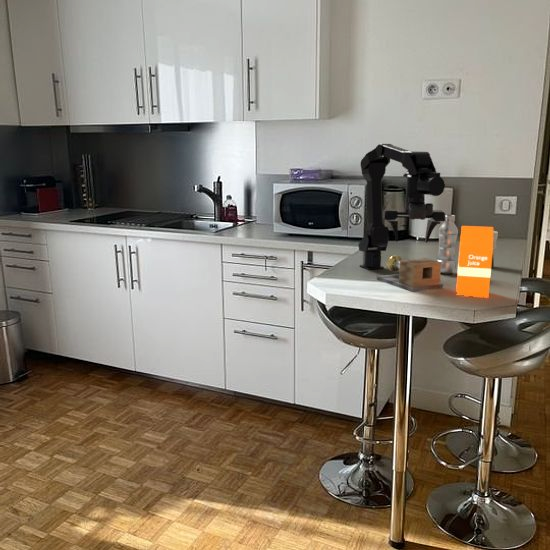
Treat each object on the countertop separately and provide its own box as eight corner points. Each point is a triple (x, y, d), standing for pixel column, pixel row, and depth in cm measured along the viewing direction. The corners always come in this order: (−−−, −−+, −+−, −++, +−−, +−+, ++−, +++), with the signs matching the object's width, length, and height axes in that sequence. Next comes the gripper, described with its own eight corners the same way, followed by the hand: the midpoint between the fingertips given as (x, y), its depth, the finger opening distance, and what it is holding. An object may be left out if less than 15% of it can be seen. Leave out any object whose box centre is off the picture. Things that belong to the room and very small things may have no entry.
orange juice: (455, 289, 167) (461, 224, 163) (486, 291, 165) (492, 225, 160) (456, 295, 160) (461, 227, 156) (488, 298, 157) (495, 228, 153)
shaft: (386, 271, 181) (387, 255, 180) (399, 270, 183) (399, 254, 182) (408, 278, 170) (409, 262, 169) (421, 277, 173) (422, 260, 171)
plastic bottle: (450, 271, 193) (455, 214, 188) (457, 275, 186) (462, 216, 182) (432, 271, 193) (436, 214, 188) (439, 275, 186) (443, 216, 182)
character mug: (500, 269, 196) (504, 233, 193) (481, 269, 195) (484, 233, 192) (487, 263, 206) (490, 229, 203) (468, 263, 206) (471, 229, 203)
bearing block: (376, 279, 180) (377, 255, 178) (406, 275, 185) (407, 252, 183) (411, 291, 164) (413, 265, 162) (442, 287, 169) (444, 262, 167)
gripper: (388, 194, 164) (384, 246, 168) (452, 196, 163) (447, 247, 166) (383, 191, 175) (380, 239, 178) (443, 192, 173) (439, 241, 177)
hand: (411, 242), depth 175 cm, fingers open, 9 cm apart
